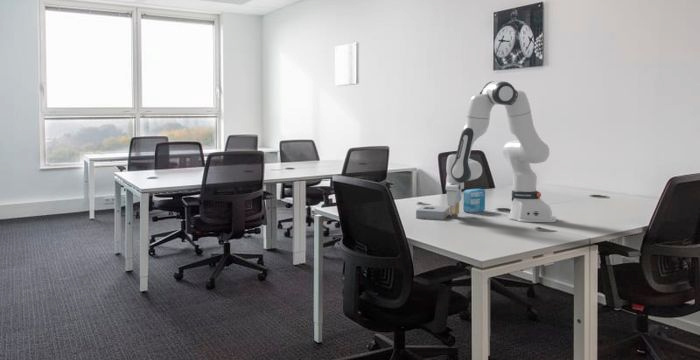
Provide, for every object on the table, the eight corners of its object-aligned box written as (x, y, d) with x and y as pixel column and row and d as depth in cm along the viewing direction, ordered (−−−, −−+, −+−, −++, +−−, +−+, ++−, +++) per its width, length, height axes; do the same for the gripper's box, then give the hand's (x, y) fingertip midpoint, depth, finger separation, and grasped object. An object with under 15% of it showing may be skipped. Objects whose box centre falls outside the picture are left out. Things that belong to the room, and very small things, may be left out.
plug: (459, 216, 268) (459, 201, 267) (457, 218, 264) (457, 202, 263) (451, 216, 269) (451, 201, 268) (449, 217, 266) (450, 202, 265)
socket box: (449, 214, 276) (449, 206, 275) (443, 219, 261) (443, 211, 260) (423, 212, 281) (423, 205, 280) (416, 218, 266) (416, 210, 265)
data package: (469, 213, 278) (469, 191, 276) (463, 212, 281) (463, 190, 280) (484, 211, 284) (485, 189, 283) (478, 209, 288) (479, 188, 287)
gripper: (452, 182, 276) (452, 208, 277) (444, 187, 257) (444, 215, 258) (464, 182, 273) (464, 209, 275) (457, 187, 254) (457, 215, 256)
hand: (454, 212), depth 267 cm, fingers closed on plug, 4 cm apart
